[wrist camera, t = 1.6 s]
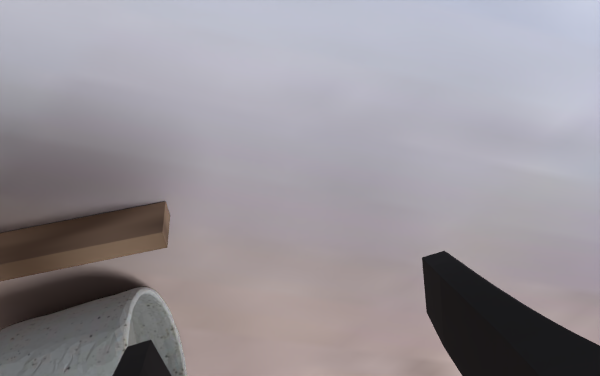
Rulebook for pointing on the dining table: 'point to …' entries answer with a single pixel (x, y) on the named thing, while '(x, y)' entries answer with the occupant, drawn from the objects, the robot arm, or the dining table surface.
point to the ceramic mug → (91, 337)
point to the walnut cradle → (83, 240)
